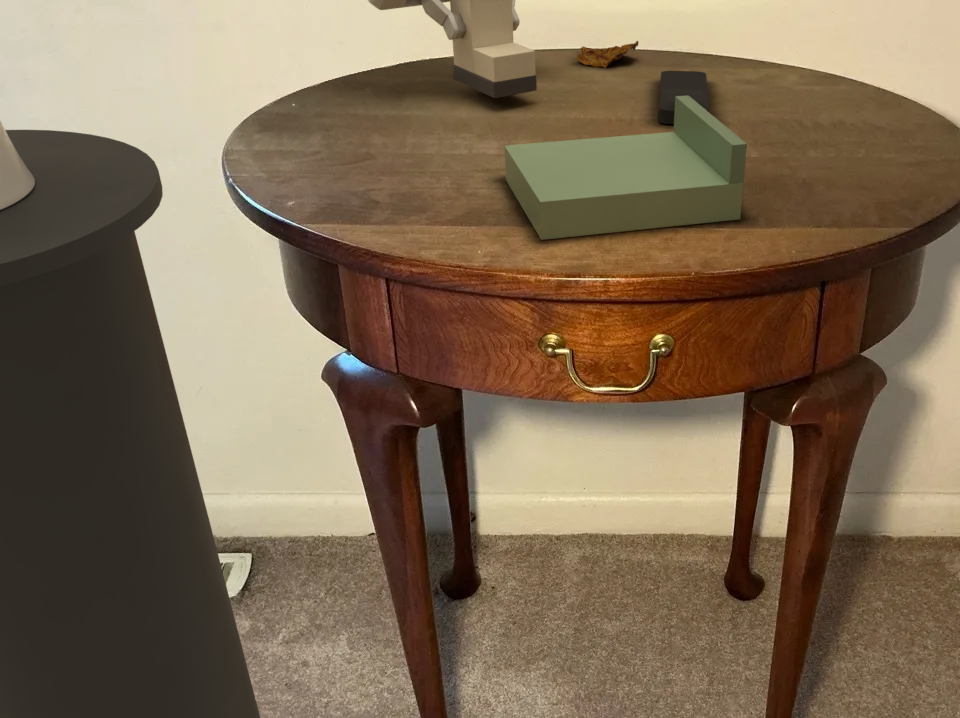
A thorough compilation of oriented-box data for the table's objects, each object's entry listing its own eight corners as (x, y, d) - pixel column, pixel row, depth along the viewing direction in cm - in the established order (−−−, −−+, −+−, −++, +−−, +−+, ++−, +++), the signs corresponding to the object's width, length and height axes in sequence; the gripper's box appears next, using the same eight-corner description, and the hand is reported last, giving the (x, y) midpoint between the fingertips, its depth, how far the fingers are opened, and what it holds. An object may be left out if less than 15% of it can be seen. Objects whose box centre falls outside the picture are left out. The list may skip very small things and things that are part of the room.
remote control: (660, 87, 114) (658, 123, 101) (660, 69, 113) (658, 105, 101) (705, 88, 114) (709, 125, 101) (706, 71, 113) (710, 106, 100)
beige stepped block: (454, 79, 109) (447, -14, 104) (495, 72, 111) (491, -19, 106) (494, 98, 103) (489, 0, 98) (537, 90, 106) (534, -6, 101)
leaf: (592, 51, 125) (590, 37, 124) (645, 51, 122) (644, 36, 121) (569, 70, 120) (567, 55, 119) (624, 70, 118) (622, 55, 117)
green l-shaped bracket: (540, 240, 78) (539, 161, 75) (505, 180, 89) (502, 108, 85) (740, 219, 82) (747, 143, 79) (684, 164, 92) (688, 95, 89)
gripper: (342, -106, 98) (400, 25, 98) (526, -117, 109) (580, 1, 108) (329, -60, 104) (383, 64, 103) (505, -75, 114) (556, 38, 113)
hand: (485, 31), depth 105 cm, fingers closed on beige stepped block, 5 cm apart
